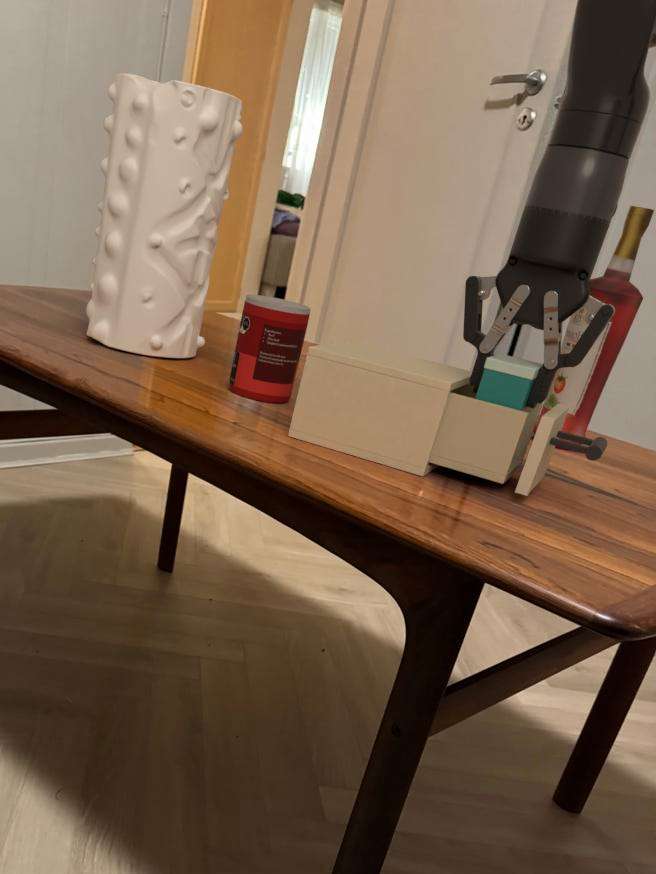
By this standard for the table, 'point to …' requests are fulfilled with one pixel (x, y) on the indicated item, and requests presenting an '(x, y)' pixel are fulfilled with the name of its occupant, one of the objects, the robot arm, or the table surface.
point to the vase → (160, 213)
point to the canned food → (268, 348)
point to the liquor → (591, 375)
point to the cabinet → (374, 403)
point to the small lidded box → (507, 381)
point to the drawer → (503, 439)
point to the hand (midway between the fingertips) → (504, 398)
